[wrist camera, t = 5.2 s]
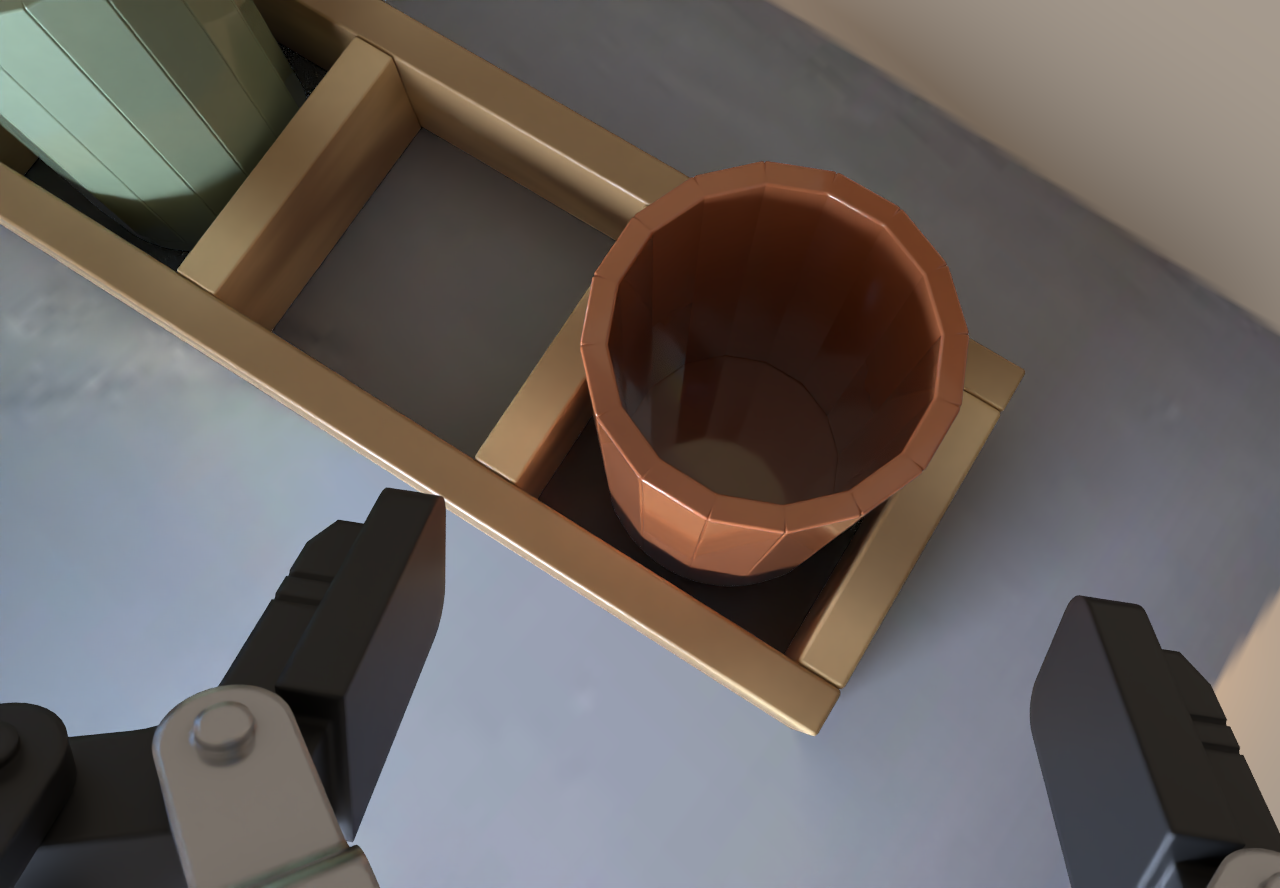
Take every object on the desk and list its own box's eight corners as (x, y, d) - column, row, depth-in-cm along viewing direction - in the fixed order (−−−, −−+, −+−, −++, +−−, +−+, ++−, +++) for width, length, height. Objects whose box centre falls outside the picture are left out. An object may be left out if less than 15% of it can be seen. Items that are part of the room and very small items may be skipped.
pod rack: (172, -64, 27) (114, -155, 24) (981, 407, 24) (1027, 370, 21) (-43, 197, 25) (-132, 134, 22) (794, 730, 23) (816, 738, 20)
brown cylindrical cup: (893, 427, 24) (1035, 282, 15) (770, 634, 23) (845, 607, 14) (688, 306, 25) (710, 98, 16) (559, 502, 24) (508, 397, 15)
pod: (361, 113, 26) (214, -180, 17) (226, 293, 25) (-4, 81, 16) (183, 7, 26) (-49, -328, 18) (45, 179, 25) (-274, -86, 17)
